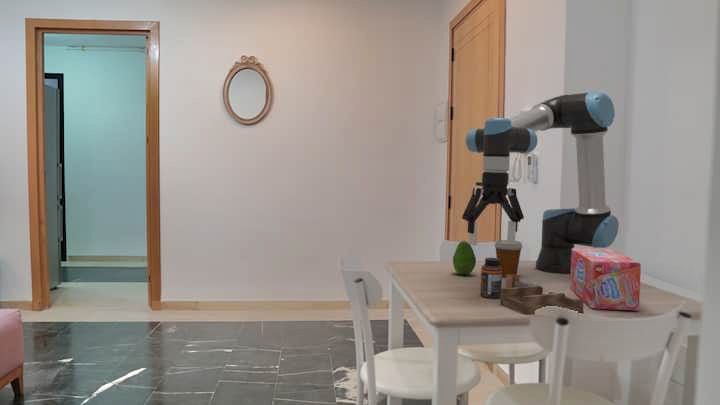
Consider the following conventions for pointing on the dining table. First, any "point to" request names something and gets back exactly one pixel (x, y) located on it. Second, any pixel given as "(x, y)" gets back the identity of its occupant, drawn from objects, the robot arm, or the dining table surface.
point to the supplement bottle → (491, 278)
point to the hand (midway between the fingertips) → (492, 244)
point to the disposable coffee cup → (508, 256)
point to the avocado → (464, 258)
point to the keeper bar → (517, 282)
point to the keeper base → (536, 299)
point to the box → (605, 279)
